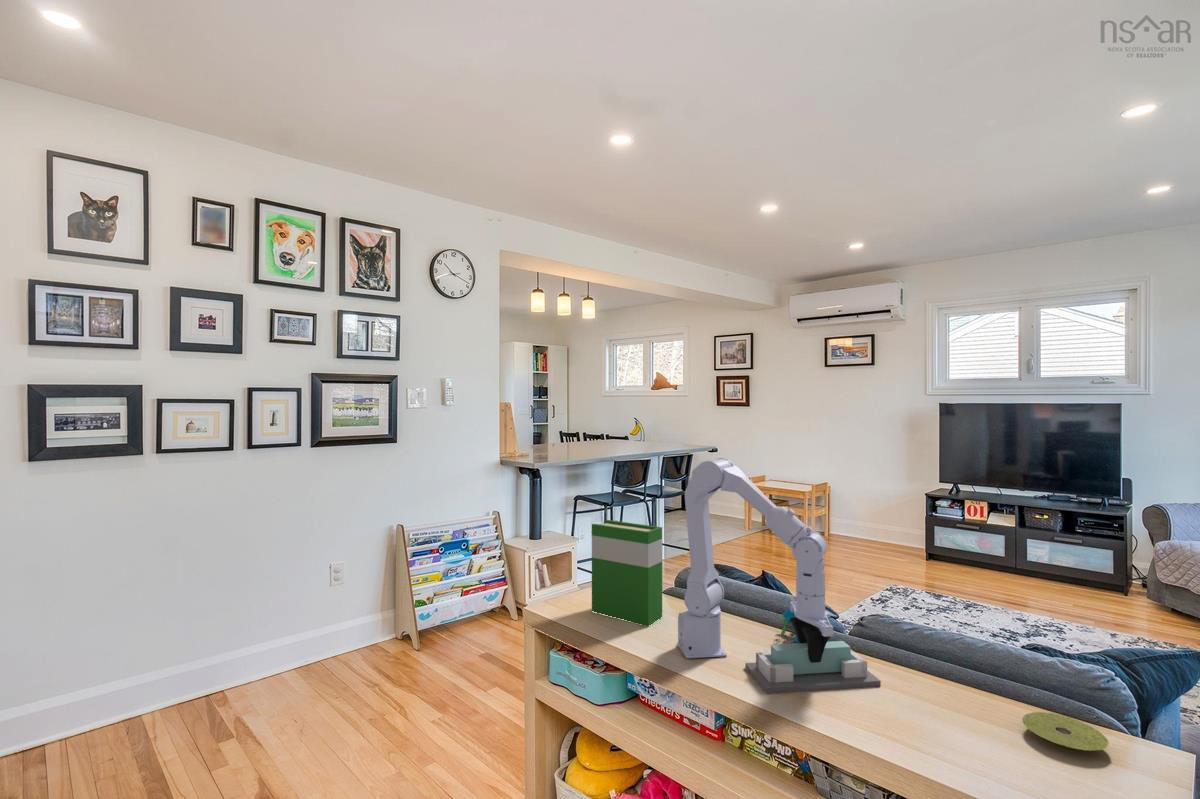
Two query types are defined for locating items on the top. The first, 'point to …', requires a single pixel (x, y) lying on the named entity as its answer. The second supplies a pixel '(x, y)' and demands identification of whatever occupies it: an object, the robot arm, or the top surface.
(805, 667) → the teal rectangular block
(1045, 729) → the mat
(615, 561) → the hardback book
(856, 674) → the cradle
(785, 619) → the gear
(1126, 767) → the top surface
